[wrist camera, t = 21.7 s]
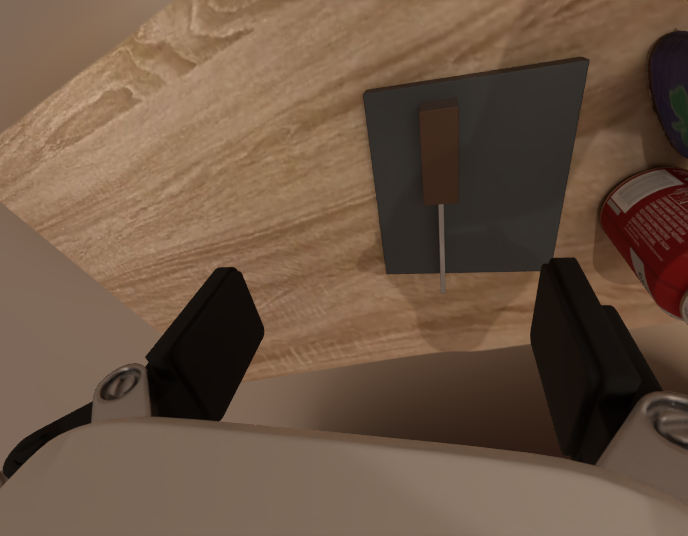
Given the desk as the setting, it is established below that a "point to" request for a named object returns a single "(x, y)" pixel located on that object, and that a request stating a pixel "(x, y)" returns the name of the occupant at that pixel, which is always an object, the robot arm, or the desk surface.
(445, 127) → the knife
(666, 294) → the soda can
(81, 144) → the desk surface
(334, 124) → the desk surface
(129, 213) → the desk surface
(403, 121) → the board
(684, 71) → the flask
